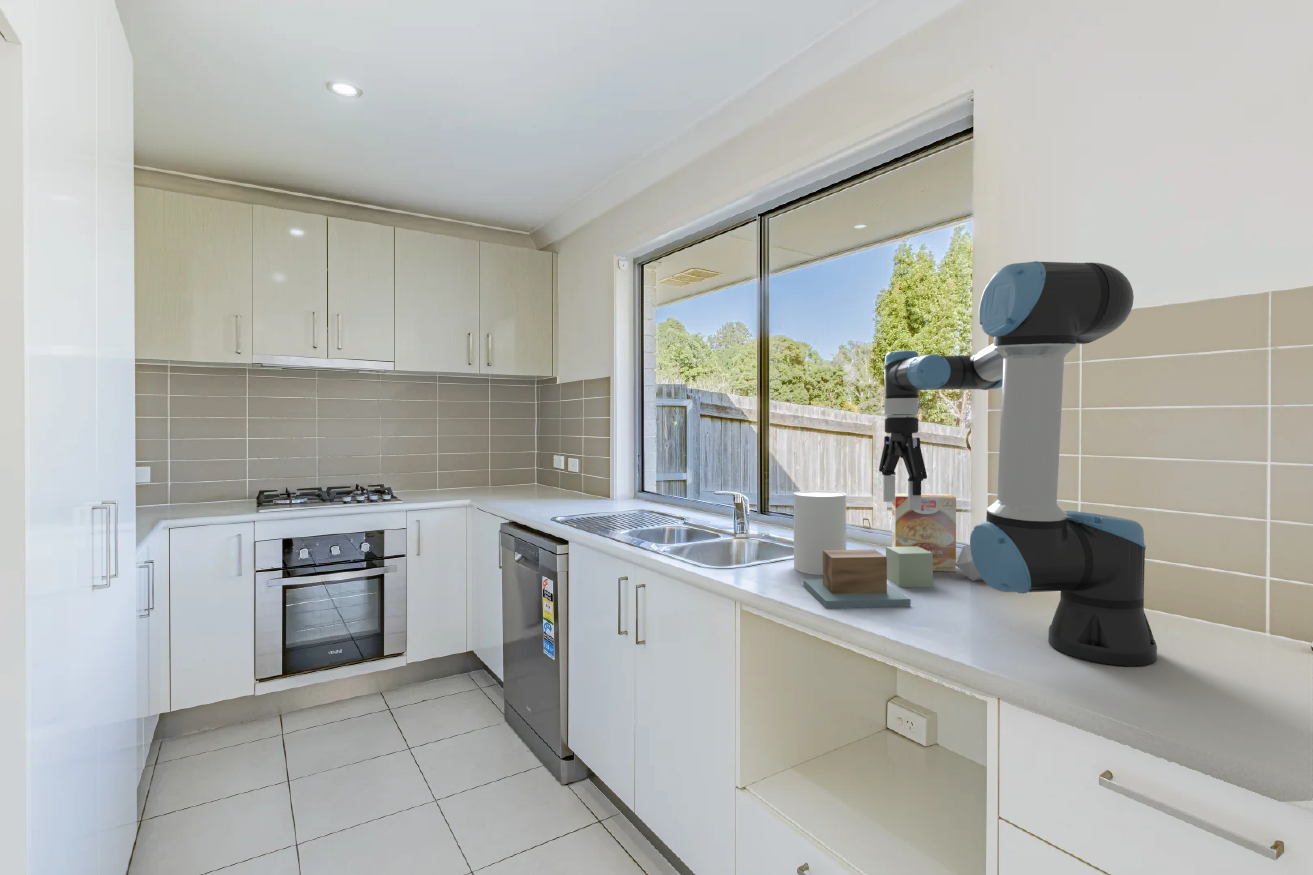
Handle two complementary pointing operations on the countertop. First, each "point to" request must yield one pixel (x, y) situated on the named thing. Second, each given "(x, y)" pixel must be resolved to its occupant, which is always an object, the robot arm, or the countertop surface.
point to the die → (968, 564)
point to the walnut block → (854, 571)
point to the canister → (817, 527)
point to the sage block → (909, 566)
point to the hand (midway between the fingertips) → (901, 505)
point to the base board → (854, 597)
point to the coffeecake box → (927, 527)
